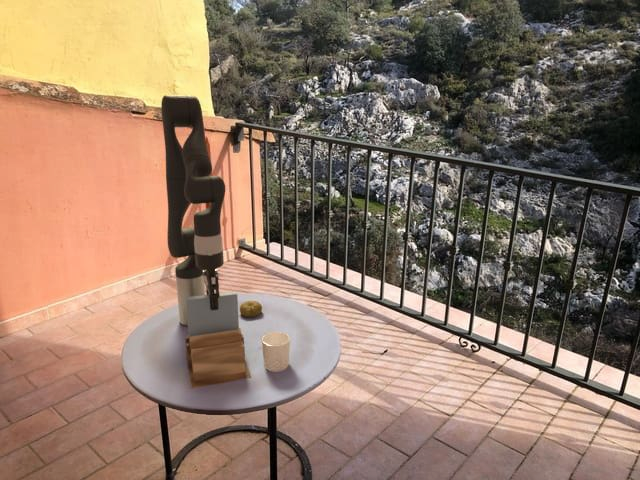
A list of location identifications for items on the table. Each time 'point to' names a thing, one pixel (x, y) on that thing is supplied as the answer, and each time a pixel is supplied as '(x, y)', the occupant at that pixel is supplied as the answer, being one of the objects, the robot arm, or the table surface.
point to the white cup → (276, 351)
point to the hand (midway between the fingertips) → (212, 303)
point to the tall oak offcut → (215, 339)
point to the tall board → (212, 314)
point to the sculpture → (252, 305)
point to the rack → (215, 379)
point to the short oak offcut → (218, 360)
